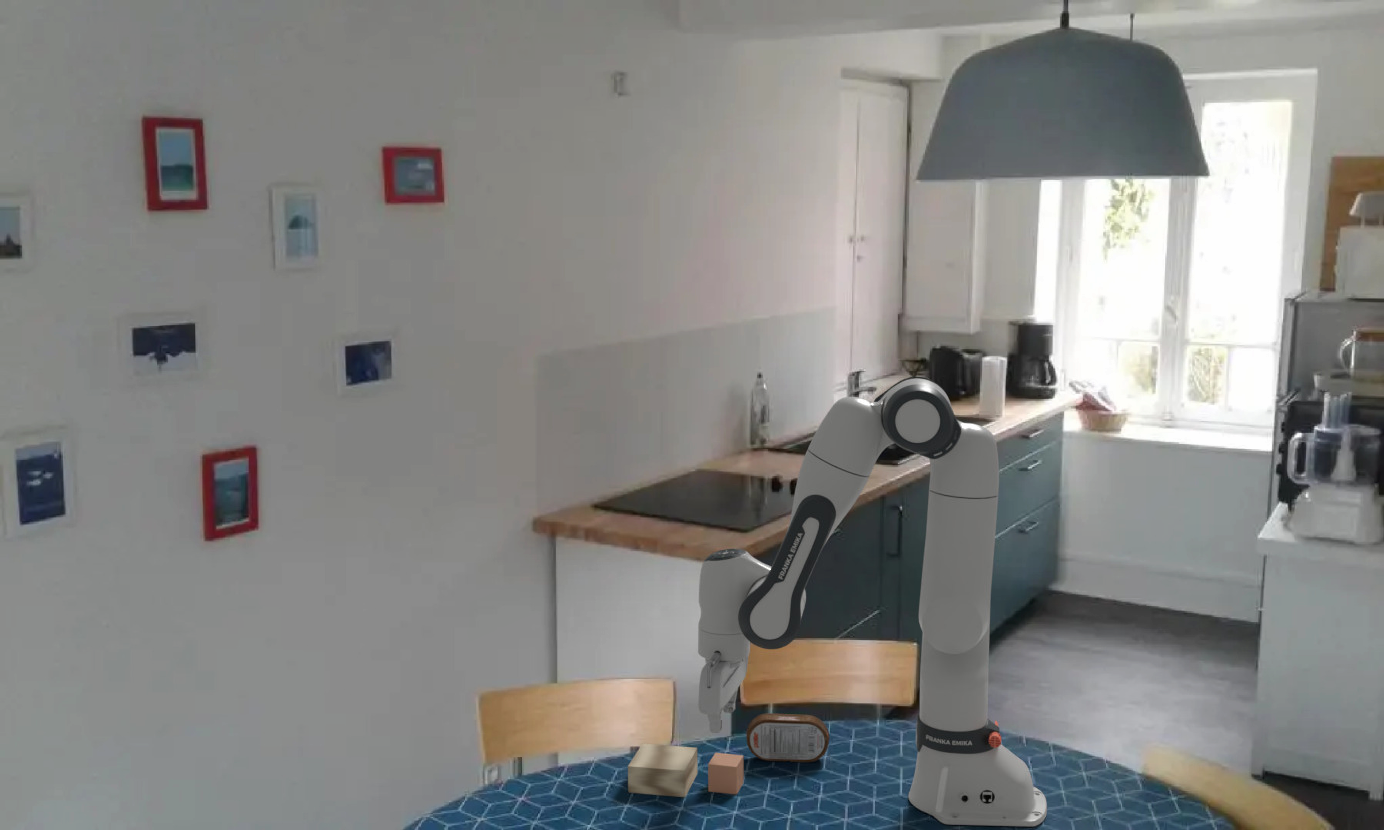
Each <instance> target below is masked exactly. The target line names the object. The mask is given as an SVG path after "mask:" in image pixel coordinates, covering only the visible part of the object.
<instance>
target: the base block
mask: <svg viewBox="0 0 1384 830" xmlns="http://www.w3.org/2000/svg"><path fill="white" fill-rule="evenodd" d="M697 775H698V747H694V746H693V747H690V746H681V745H679V746H678V745H677V746H676V745H664V744H652V743H650V744H649V743H641V745H640V746H639V749H638V750H637V751H636V753H635V754H634V756H633V757H632V759H631V760H630V762H629V764H628V765H627V788H628V789H627V790H628V793H633V794H643V795H656V796H664V797H665V796H668V797H680V798H687V797H686V796H687V794H688V793H689V791H690V789H691V787H692V785H693V783H694V781H695V779H696V777H697Z"/></svg>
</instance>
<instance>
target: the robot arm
mask: <svg viewBox="0 0 1384 830" xmlns="http://www.w3.org/2000/svg"><path fill="white" fill-rule="evenodd" d="M894 444H895V445H897V446H898V447H900V448H902V449H903V450H905V451H908V452H910V453H914V454H917V455H920V456H922V457H924V458H927V459H929V466H930V473H929V474H930V475H929V483H928V484H929V485H928V486H929V487H928V488H929V489H928V502H927V503H928V504H927V512H926V513H927V515H926V530H925V543H924V550H923V551H924V552H923V559H922V560H923V562H922V571H921V572H922V573H921V581H920V595H919V606H918V622H919V626H920V629H921V631H922V637H921V638H922V639H921V654H920V655H921V657H920V668H919V669H920V670H919V671H920V672H919V673H920V675H919V677H920V680H919V714H918V715H917V719H916V723H915V745H916V751H917V753H916V754H917V756H916V764H915V769H914V775H913V779H912V783H911V786H910V790H909V792H908V800H909V802H910V803H911V804H912V805H913V806H914V807H915V808H916V809H918V810H919V811H921V812H923V813H927V815H930V816H933V817H934V818H935V819H936V820H938V822H940V823H941V824H944V825H953V826H954V825H957V826H959V825H961V826H965V825H966V826H992V827H993V826H995V827H997V826H998V827H1000V826H1002V827H1037V826H1039V825H1040V824H1041V823H1043V822H1044V821H1045V819H1046V817H1047V813H1048V804H1047V798H1046V796H1045V795H1044V793H1043V792H1042V791H1041V790H1040V788H1039V789H1038V788H1037V787H1035V786H1034V784H1033V778H1032V775H1031V772H1030V769H1029V767H1028V765H1027V764H1026V763H1025V761H1023V760H1022V759H1021V758H1019V757H1018V756H1017V755H1015V754H1014V753H1013V752H1011V751H1010V750H1009V749H1008V748H1007V747H1005V746H1004V745H1003V744H1002V736H1001V733H1000V731H1001V730H1000V727H999V722H998V721H997V720H994V722H993V721H992V720H990V718H988V702H989V701H988V695H989V664H990V663H989V662H990V661H989V660H990V659H989V657H990V631H991V629H990V628H991V627H990V625H991V623H990V621H991V595H992V582H993V567H994V559H995V558H994V557H995V556H994V554H995V544H996V543H995V541H996V530H997V529H996V528H997V517H998V503H999V489H1000V488H999V487H1000V468H999V465H1000V464H999V463H1000V461H999V453H998V451H999V450H998V445H997V444H998V443H997V440H996V437H995V436H994V434H993V433H992V431H990V430H989V429H987V428H986V427H985V426H982V425H979V424H976V423H972V422H963V421H960V420H958V418H957V417H956V415H955V413H954V409H953V407H952V403H951V401H950V399H949V397H948V395H947V393H946V392H945V390H944V389H943V388H942V387H941V386H940V385H939V384H938V383H937V382H936V381H934V380H932V379H930V378H928V377H924V376H910V377H906V378H904V379H902V380H899V381H897V382H896V383H894V384H893V385H892V386H890V387H889V388H888V389H887V390H885V391H884V392H882V393H881V394H879V395H878V396H877V397H876V398H875V399H874V400H873V401H871V400H868V399H865V398H863V397H857V396H846V397H842V398H840V399H838V400H837V401H836V402H834V403H833V405H832V406H831V407H830V409H829V410H828V411H827V414H826V415H825V416H824V417H823V419H822V420H821V423H820V425H819V426H818V428H817V430H816V432H815V433H814V435H813V437H812V439H811V441H810V443H809V445H808V448H807V450H806V452H805V455H804V457H803V459H802V463H801V466H800V468H799V471H798V477H797V480H796V486H795V489H794V494H793V495H794V496H793V502H792V508H791V515H790V519H789V522H788V526H787V530H786V533H785V536H784V537H783V540H782V543H781V544H780V546H779V549H778V551H777V553H776V555H775V559H774V560H773V563H772V564H771V565H768V564H766V563H764V562H762V561H760V560H758V559H757V558H755V557H753V556H752V555H751V554H750V553H749V552H748V551H747V550H744V549H741V548H726V549H725V548H724V549H720V550H718V551H715V552H712V553H710V554H709V555H708V556H707V557H706V558H705V559H704V560H703V561H702V564H701V568H700V574H699V575H700V576H699V585H698V604H699V608H700V618H699V620H698V631H697V632H698V633H697V634H698V635H697V637H698V638H697V653H698V655H699V656H700V657H702V658H704V661H705V662H704V663H705V664H704V666H703V667H702V668H701V671H700V674H699V675H700V676H699V686H698V688H699V689H698V702H697V703H698V704H697V705H698V706H697V707H698V711H699V714H701V715H702V714H703V715H706V716H707V718H708V722H709V731H710V733H713V734H719V733H720V732H721V731H722V728H723V720H722V719H721V718H722V717H721V714H722V711H723V712H724V713H726V714H727V713H728V714H732V713H734V711H735V710H736V699H737V695H738V690H739V687H740V685H741V684H742V682H743V681H744V680H745V678H746V675H747V672H748V663H749V655H750V654H751V653H750V652H751V650H750V649H751V644H752V645H754V646H756V647H759V648H761V649H765V650H779V649H782V648H784V647H787V646H788V645H790V644H791V643H792V642H794V640H795V639H796V637H798V634H799V632H800V629H801V622H802V617H803V614H804V611H805V606H806V603H807V591H806V587H807V584H808V582H809V579H810V578H811V575H812V573H813V571H814V569H815V566H816V564H817V562H818V560H819V557H820V555H821V553H822V550H823V549H824V547H825V545H826V544H827V542H828V540H829V538H830V537H831V536H832V534H833V533H834V532H835V530H836V529H837V527H838V526H839V525H840V523H842V521H843V519H844V518H845V517H846V516H847V515H848V513H849V512H850V510H851V509H852V508H853V506H854V504H856V502H857V500H858V498H859V497H860V495H861V493H862V492H863V490H864V488H865V486H866V484H867V483H868V481H869V479H870V476H871V474H872V472H873V469H874V466H875V465H876V462H877V460H878V459H879V457H880V455H881V454H882V452H884V450H885V449H886V448H888V447H889V446H891V445H894Z"/></svg>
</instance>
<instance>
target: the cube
mask: <svg viewBox="0 0 1384 830" xmlns="http://www.w3.org/2000/svg"><path fill="white" fill-rule="evenodd" d="M707 765H708V766H707V771H708V772H707V775H708V776H707V777H708V779H707V780H708V784H707V785H708V792H710V793H711V792H712V793H720V794H721V793H722V794H728V795H729V794H731V795H738V793H739V791H740V790H741V788H742V786H743V784H744V778H745V777H744V755H741V754H733V753H732V754H731V753H723V752H722V753H720V752H715V753H714V754H713V756H712V758H711V759H710V761H709V762H708V764H707Z"/></svg>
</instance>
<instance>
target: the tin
mask: <svg viewBox="0 0 1384 830" xmlns="http://www.w3.org/2000/svg"><path fill="white" fill-rule="evenodd" d="M745 734H746V744H747V748H748V749H749V751H750V752H751V754H752V755H754V756H755V757H756V758H758V759H760V760H762V761H767V762H785V761H786V762H785V763H787V761H790V762H791V763H814V762H816V761H818V760H820V759H821V758H822V757H824V755H825V754H826V752H827V750H828V748H829V745H830V744H829V743H830V732H829V728H828V726H827V725H826V724H825V722H824V721H822V720H821V719H820V718H818V717H816V716H814V715H811V714H810V715H809V714H792V713H791V714H789V713H788V714H787V713H762V714H758V715H757V716H756V717H754V718H753V719H751V721H750V722H749V724H748V725H747V728H746V732H745ZM790 762H789V763H790Z"/></svg>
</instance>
